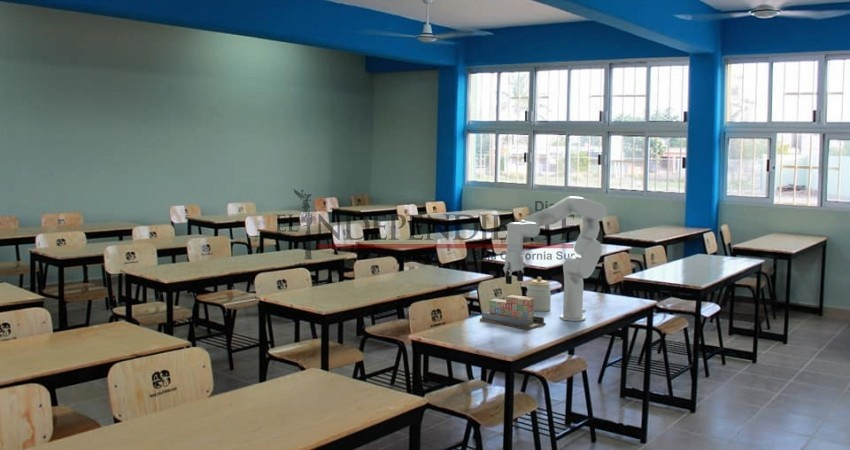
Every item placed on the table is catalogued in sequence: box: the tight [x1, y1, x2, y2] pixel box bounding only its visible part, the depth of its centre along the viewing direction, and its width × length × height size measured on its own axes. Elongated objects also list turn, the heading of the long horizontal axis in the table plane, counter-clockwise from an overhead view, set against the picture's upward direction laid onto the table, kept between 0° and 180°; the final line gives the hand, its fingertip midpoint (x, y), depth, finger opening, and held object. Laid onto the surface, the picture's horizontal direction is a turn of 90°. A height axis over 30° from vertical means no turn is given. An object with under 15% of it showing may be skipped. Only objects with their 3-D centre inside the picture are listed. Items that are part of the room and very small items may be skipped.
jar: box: [526, 276, 552, 312], centre depth 404 cm, size 13×13×18 cm
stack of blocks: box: [488, 294, 535, 324], centre depth 371 cm, size 21×6×12 cm, turn 57°
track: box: [479, 311, 547, 331], centre depth 371 cm, size 16×28×4 cm, turn 49°
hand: (514, 282), depth 370 cm, fingers open, 9 cm apart
